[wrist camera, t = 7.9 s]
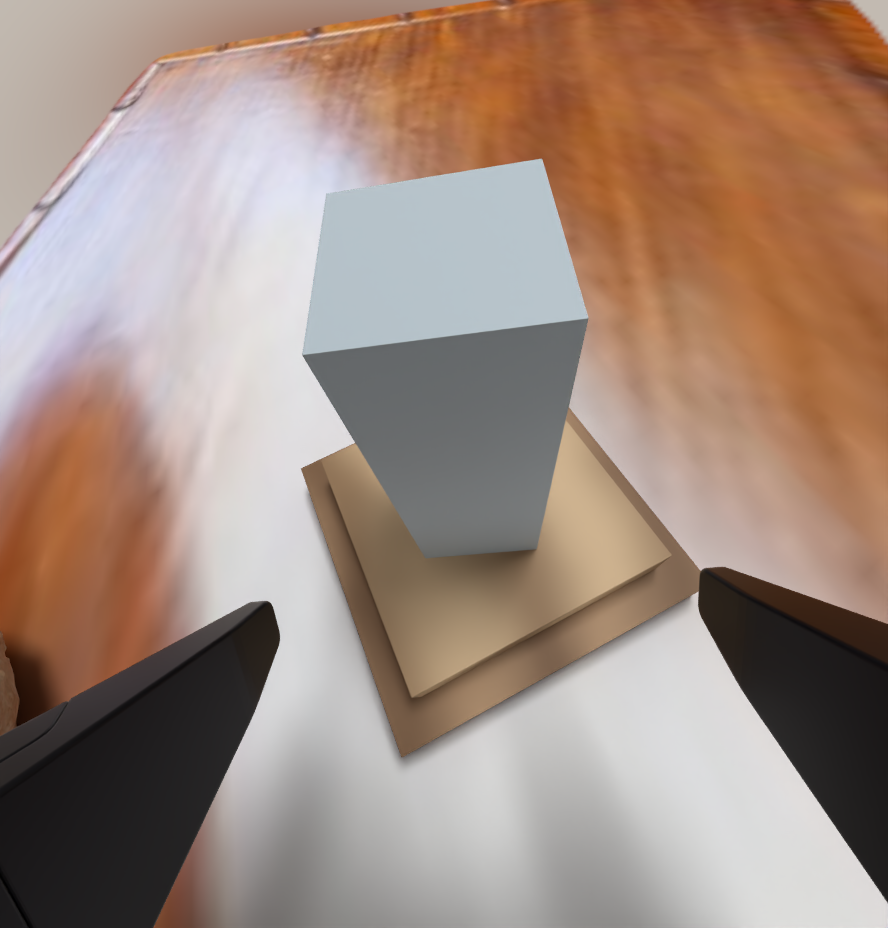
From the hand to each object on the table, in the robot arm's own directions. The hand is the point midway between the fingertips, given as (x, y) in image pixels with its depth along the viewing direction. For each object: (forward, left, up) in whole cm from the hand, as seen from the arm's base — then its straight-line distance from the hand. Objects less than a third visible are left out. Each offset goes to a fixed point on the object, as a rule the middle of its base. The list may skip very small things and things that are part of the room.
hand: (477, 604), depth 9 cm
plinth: (+2, +5, -12) cm, 13 cm away
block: (+2, +5, -8) cm, 9 cm away
